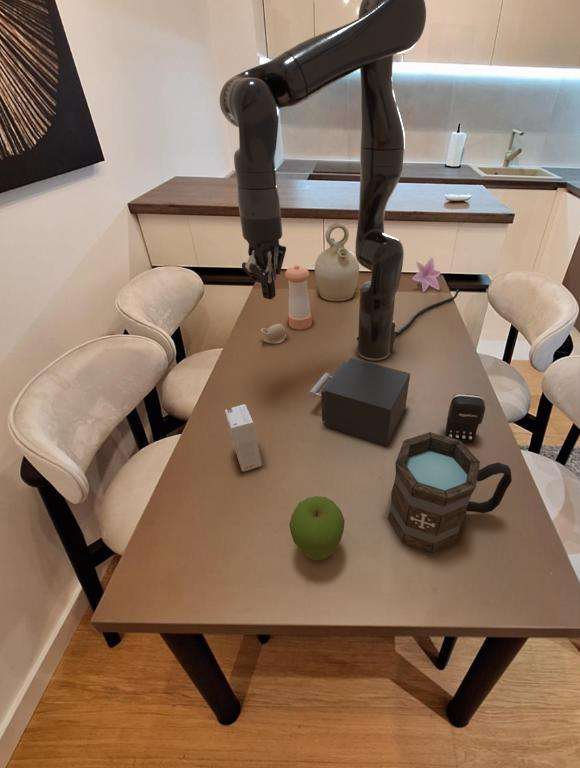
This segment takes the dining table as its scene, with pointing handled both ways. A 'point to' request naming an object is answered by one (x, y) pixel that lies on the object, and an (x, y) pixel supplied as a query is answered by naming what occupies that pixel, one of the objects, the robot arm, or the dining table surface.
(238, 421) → the cosmetic box
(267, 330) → the decorative ornament
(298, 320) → the salt shaker
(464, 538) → the dining table surface
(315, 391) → the drawer
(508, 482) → the mug
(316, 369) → the dining table surface
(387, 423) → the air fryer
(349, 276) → the jug
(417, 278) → the lily
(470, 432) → the battery charger
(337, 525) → the apple
